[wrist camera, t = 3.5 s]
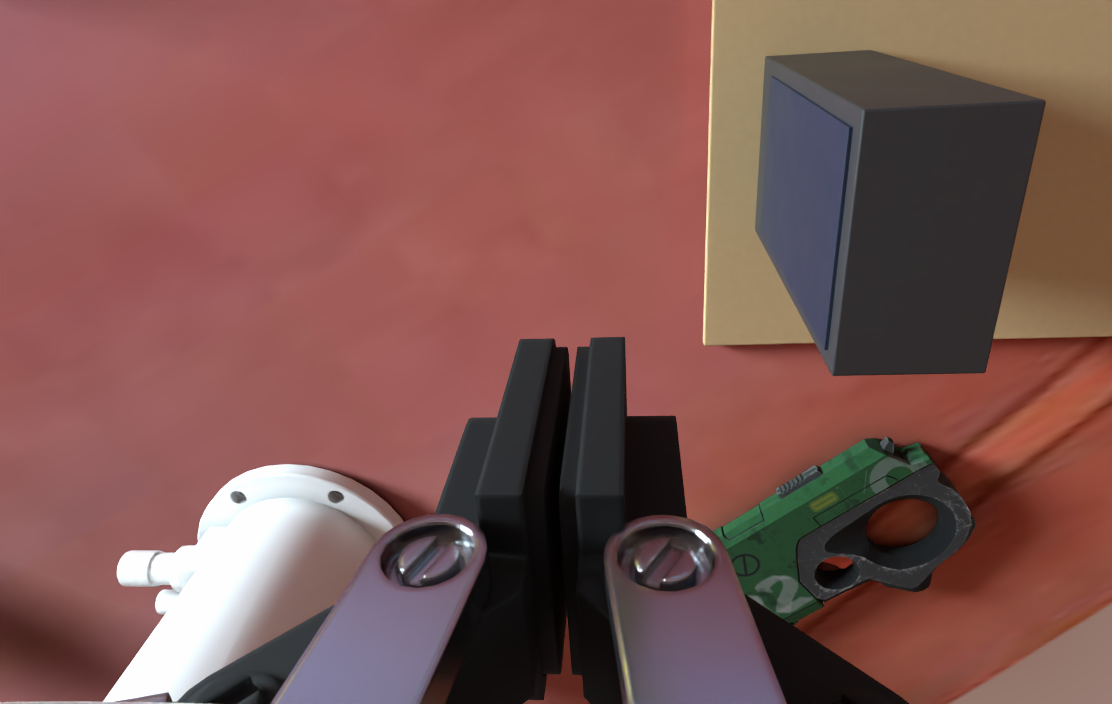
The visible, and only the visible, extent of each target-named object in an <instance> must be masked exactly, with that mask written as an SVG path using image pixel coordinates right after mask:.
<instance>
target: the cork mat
mask: <svg viewBox="0 0 1112 704" xmlns="http://www.w3.org/2000/svg"><path fill="white" fill-rule="evenodd" d="M859 50H873V51H877V52H880V53H884V54H887V55H891V56H894V57H898V58H901V59H904V60H908V61H911V62H915V63H918V64H922V65H925V66H929V67H932V68H936V69H939V70H942V71H946V72H949V73H953V74H956V75H960V76H963V77H967V78H970V79H974V80H977V81H980V82H984V83H987V84H991V85H994V86H998V87H1001V88H1005V89H1008V90H1012V91H1015V92H1019V93H1022V94H1025V95H1029V96H1032V97H1036V98H1039V99H1043V100H1045V101H1046V105H1045V109H1044V114H1043V118H1042V123H1041V127H1040V132H1039V136H1038V140H1037V145H1036V149H1035V154H1034V158H1033V163H1032V167H1031V172H1030V176H1029V180H1028V185H1027V189H1026V194H1025V198H1024V203H1023V207H1022V212H1021V216H1020V220H1019V225H1018V229H1017V234H1016V238H1015V243H1014V247H1013V252H1012V256H1011V261H1010V265H1009V269H1008V274H1007V278H1006V283H1005V287H1004V292H1003V296H1002V301H1001V305H1000V309H999V314H998V318H997V323H996V327H995V332H994V336H993V339H1020V338H1064V337H1108V336H1112V0H712V33H711V69H710V105H709V141H708V177H707V213H706V249H705V285H704V321H703V342H704V345H705V346H713V345H757V344H801V343H815V342H814V340H813V339H812V337H811V335H810V333H809V331H808V329H807V327H806V325H805V323H804V322H803V320H802V318H801V316H800V314H799V312H798V310H797V308H796V307H795V305H794V303H793V301H792V299H791V297H790V295H789V293H788V291H787V290H786V288H785V286H784V284H783V282H782V280H781V278H780V276H779V274H778V273H777V271H776V269H775V267H774V265H773V263H772V261H771V259H770V257H769V256H768V254H767V252H766V250H765V248H764V246H763V244H762V242H761V240H760V239H759V237H758V235H757V233H756V231H755V220H756V203H757V186H758V169H759V152H760V135H761V117H762V100H763V83H764V66H765V57H766V56H777V55H793V54H809V53H826V52H842V51H859Z"/></svg>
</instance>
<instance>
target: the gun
mask: <svg viewBox="0 0 1112 704" xmlns="http://www.w3.org/2000/svg"><path fill="white" fill-rule="evenodd" d="M776 490H777V493H775V494H773V495H772V496H770V497H769V498H767V499H765V500H764V501H762V502H760V503H759V504H760V506H759V505H758V506H756V507H754V508H753V509H751V510H750V511H748V512H746V513H745V514H743V515H741V516H740V517H738V518H736V519H735V520H733V521H731V522H730V523H728V524H727V525H725V526H723V527H719V528H718V529H716V530H714V531H713V533H715V534H716V535H717V536H718V537H719V538H720V540H721V541H722V543H723V544H724V546H725V548H726V549H727V552H728V554H729V557H730V559H731V562H732V564H733V567H734V570H735V572H736V575H737V577H738V580H739V582H740V585H741V587H742V590H743V593H744V594H746V595H747V596H749V597H750V598H752V599H753V600H755V601H756V602H758V603H759V604H761V605H763V606H764V607H766V608H767V609H769V610H770V611H772V612H773V613H775V614H776V615H778V616H779V617H781V618H782V619H784V620H785V621H787V622H788V623H790V624H791V625H795V624H796V623H797V622H798V620H800V619H802V618H803V617H805V616H807V615H809V614H811V613H813V612H815V611H817V610H818V609H820V608H822V607H824V604H823V602H826V601H828V600H830V599H832V598H834V597H836V596H838V595H840V594H842V593H844V592H846V591H848V590H850V589H853V588H855V587H857V586H859V585H861V584H863V583H865V582H867V581H869V580H874V581H877V582H880V583H882V584H883V585H885V586H886V587H892V588H897V589H902V590H906V591H912V592H919V591H923V590H925V589H926V588H928V587H929V585H930V582H931V575H932V572H933V571H934V569H935V568H936V567H937V566H938V565H939V564H940V563H942V562H943V561H944V560H946V559H947V558H948V557H950V556H951V555H953V554H954V553H955V552H956V551H957V550H958V549H960V548H961V547H962V546H963V544H964V543H965V542H966V541H967V540H968V539H969V537H970V536H971V534H972V532H973V530H974V528H975V526H976V521H975V520H974V518H973V517H972V515H971V514H970V510H969V509H968V507H967V505H966V504H965V502H964V501H963V499H962V498H961V496H960V495H959V493H958V492H957V490H956V489H955V487H954V486H953V484H952V483H951V481H950V480H949V479H948V478H947V477H946V476H945V475H944V474H943V473H942V472H940V470H939V469H938V467H937V466H936V464H935V463H934V461H933V460H932V458H931V457H930V455H929V454H928V453H927V452H926V450H925V449H924V448H923V447H922V446H921V445H920V443H919V442H917V443H915V444H912V445H909V446H906V447H902V448H899V447H896V446H894V442H893V440H892V439H890V438H888V437H885V438H884V439H883V440H880V439H877V438H872V439H864V440H862V441H861V442H859V443H857V444H856V445H854V446H852V447H851V448H849V449H847V450H846V451H844V452H842V453H841V454H839V455H838V456H836V457H834V458H833V459H831V460H829V461H828V462H826V463H824V464H823V465H821V466H819V467H818V466H815V465H814V466H813V467H811V468H809V469H808V470H806V471H805V472H803V473H802V474H800V475H798V477H795V478H794V479H793V480H790V482H787V483H786V484H785V485H782V486H781V487H778V488H777V489H776ZM900 499H919V500H923V501H926V502H928V503H930V504H932V505H933V506H934V507H935V508H936V509H937V511H938V519H937V523H936V525H935V527H934V529H933V530H932V531H931V533H930V534H929V535H927V536H926V537H925V538H924V539H922V540H921V541H919V542H917V543H915V544H912V545H909V546H905V547H898V548H894V547H886V546H881V545H878V544H876V543H875V542H873V541H872V540H870V539H869V538H868V537H867V536H866V525H867V523H868V520H869V519H870V517H871V516H872V514H873V513H874V512H875V511H876V510H877V509H879V508H880V507H882V506H883V505H885V504H887V503H890V502H892V501H896V500H900ZM821 562H826V563H830V564H834V565H836V566H838V567H839V568H841V569H838V570H835V571H822V570H818V569H816V568H817V566H818V565H819V564H820V563H821Z"/></svg>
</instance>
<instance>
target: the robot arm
mask: <svg viewBox="0 0 1112 704" xmlns="http://www.w3.org/2000/svg"><path fill="white" fill-rule="evenodd" d="M117 578H118V581H119V583H120V584H121V585H122V586H141V587H155V586H159V585H171V587H172V588H173V589H174V590H162V591H161V592H160V593H159V594H158V596H157V598H156V604H155V607H156V612H157V613H158V614H163V615H165V616H164V617H163V618H162V620H161V621H160V623H159V624H158V625H157V627H156V628H155V630H154V631H153V632H152V634H151V635H150V637H149V638H148V639H147V641H146V642H145V644H144V645H143V646H142V648H141V649H140V651H139V652H138V653H137V655H136V656H135V657H134V659H133V660H132V662H131V663H130V664H129V666H128V667H127V669H126V670H125V671H124V673H123V674H122V676H121V677H120V678H119V680H118V681H117V683H116V684H115V685H114V687H113V688H112V690H111V691H110V692H109V694H108V695H107V697H106V698H105V699H104V701H103V702H96V701H39V702H0V704H523V703H525V702H526V701H527V700H544V695H545V686H546V678H547V674H561V669H562V659H563V648H564V638H565V627H566V616H568V628H569V640H570V653H571V665H572V674H573V675H582V680H583V694H584V698H585V699H586V700H587V701H589V702H590V703H591V704H909V703H908V702H906V701H905V700H904V699H903V698H902V697H900V696H899V695H897V694H896V693H894V692H893V691H891V690H890V689H888V688H887V687H885V686H884V685H882V684H881V683H879V682H878V681H876V680H875V679H873V678H872V677H870V676H869V675H867V674H865V673H864V672H862V671H861V670H859V669H858V668H856V667H855V666H853V665H852V664H850V663H849V662H847V661H846V660H844V659H843V658H841V657H840V656H838V655H837V654H835V653H834V652H832V651H831V650H829V649H828V648H826V647H825V646H823V645H822V644H820V643H819V642H817V641H816V640H814V639H812V638H811V637H809V636H808V635H806V634H805V633H803V632H802V631H800V630H799V629H797V628H796V627H794V626H793V625H791V624H790V623H788V622H787V621H785V620H784V619H782V618H781V617H779V616H778V615H776V614H775V613H773V612H772V611H770V610H769V609H767V608H766V607H764V606H763V605H761V604H759V603H758V602H756V601H755V600H753V599H752V598H750V597H749V596H747V595H746V594H744V593H743V590H742V587H741V585H740V582H739V580H738V577H737V575H736V572H735V570H734V567H733V564H732V562H731V559H730V557H729V554H728V552H727V549H726V548H725V546H724V544H723V543H722V541H721V540H720V538H719V537H718V536H717V535H716V534H715V533H713V532H712V531H711V530H710V529H709V528H707V527H706V526H704V525H702V524H700V523H698V522H695V521H693V520H691V519H688V518H687V514H686V505H685V496H684V487H683V478H682V468H681V459H680V450H679V441H678V432H677V423H676V417H675V416H627V399H626V360H625V337H606V338H591V340H590V347H578V348H577V355H576V363H575V370H574V378H573V386H572V393H571V383H570V368H569V353H568V348H567V347H556V344H555V340H554V339H520V341H519V344H518V347H517V351H516V354H515V357H514V361H513V364H512V368H511V371H510V375H509V378H508V382H507V385H506V389H505V392H504V396H503V399H502V402H501V406H500V409H499V413H498V416H497V418H470V419H469V420H468V422H467V424H466V427H465V430H464V433H463V435H462V438H461V441H460V444H459V447H458V450H457V452H456V455H455V458H454V461H453V464H452V467H451V469H450V472H449V475H448V478H447V481H446V484H445V486H444V489H443V492H442V495H441V498H440V501H439V504H438V506H437V509H436V512H435V514H430V515H425V516H420V517H415V518H412V519H410V520H407V521H405V522H403V520H402V518H401V517H400V516H399V515H398V514H397V513H396V512H395V511H394V509H393V508H392V507H391V506H390V505H389V504H388V503H387V502H386V501H384V500H383V499H382V498H381V497H379V496H378V495H377V494H376V493H374V492H373V491H372V490H370V489H369V488H367V487H365V486H363V485H361V484H360V483H358V482H356V481H354V480H353V479H351V478H348V477H345V476H343V475H340V474H338V473H335V472H333V471H330V470H325V469H321V468H317V467H312V466H306V465H292V464H283V465H272V466H265V467H261V468H258V469H254V470H251V471H248V472H246V473H244V474H242V475H240V476H238V477H236V478H234V479H232V480H231V481H230V482H229V483H227V484H226V485H225V486H224V487H223V488H222V489H221V490H219V492H218V493H217V494H216V496H215V497H214V498H213V500H212V501H211V502H210V503H209V505H208V506H207V508H206V510H205V512H204V514H203V516H202V518H201V520H200V525H199V530H198V543H197V545H187V546H182V547H181V548H180V549H178V550H177V551H176V553H165V552H163V551H146V550H131V551H129V552H126V553H125V554H124V555H123V556H122V558H121V559H120V562H119V564H118V567H117Z"/></svg>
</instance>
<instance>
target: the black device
mask: <svg viewBox="0 0 1112 704" xmlns="http://www.w3.org/2000/svg"><path fill="white" fill-rule="evenodd" d="M1045 105H1046V101H1045V100H1043V99H1039V98H1036V97H1032V96H1029V95H1025V94H1022V93H1019V92H1015V91H1012V90H1008V89H1005V88H1001V87H998V86H994V85H991V84H987V83H984V82H980V81H977V80H974V79H970V78H967V77H963V76H960V75H956V74H953V73H949V72H946V71H942V70H939V69H936V68H932V67H929V66H925V65H922V64H918V63H915V62H911V61H908V60H904V59H901V58H898V57H894V56H891V55H887V54H884V53H880V52H877V51H873V50H859V51H842V52H826V53H809V54H793V55H777V56H766V57H765V66H764V83H763V100H762V117H761V135H760V152H759V169H758V186H757V203H756V220H755V231H756V233H757V235H758V237H759V239H760V240H761V242H762V244H763V246H764V248H765V250H766V252H767V254H768V256H769V257H770V259H771V261H772V263H773V265H774V267H775V269H776V271H777V273H778V274H779V276H780V278H781V280H782V282H783V284H784V286H785V288H786V290H787V291H788V293H789V295H790V297H791V299H792V301H793V303H794V305H795V307H796V308H797V310H798V312H799V314H800V316H801V318H802V320H803V322H804V323H805V325H806V327H807V329H808V331H809V333H810V335H811V337H812V339H813V340H814V342H815V344H816V346H817V348H818V350H819V352H820V354H821V356H822V357H823V359H824V361H825V363H826V365H827V367H828V369H829V371H830V373H831V374H832V375H833V376H848V375H902V374H956V373H985V372H986V367H987V363H988V358H989V354H990V350H991V345H992V341H993V336H994V332H995V327H996V323H997V318H998V314H999V309H1000V305H1001V301H1002V296H1003V292H1004V287H1005V283H1006V278H1007V274H1008V269H1009V265H1010V261H1011V256H1012V252H1013V247H1014V243H1015V238H1016V234H1017V229H1018V225H1019V220H1020V216H1021V212H1022V207H1023V203H1024V198H1025V194H1026V189H1027V185H1028V180H1029V176H1030V172H1031V167H1032V163H1033V158H1034V154H1035V149H1036V145H1037V140H1038V136H1039V132H1040V127H1041V123H1042V118H1043V114H1044V109H1045Z"/></svg>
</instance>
